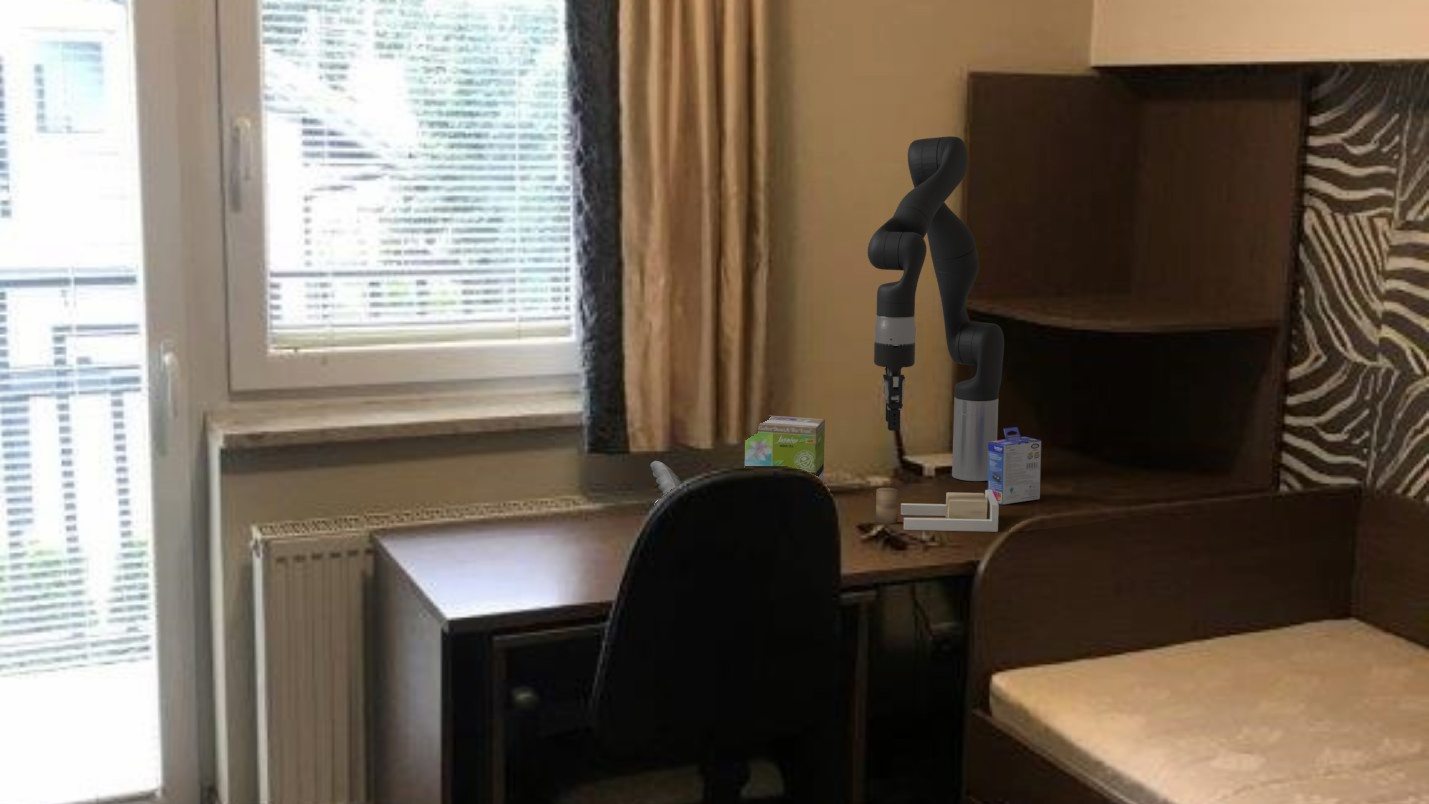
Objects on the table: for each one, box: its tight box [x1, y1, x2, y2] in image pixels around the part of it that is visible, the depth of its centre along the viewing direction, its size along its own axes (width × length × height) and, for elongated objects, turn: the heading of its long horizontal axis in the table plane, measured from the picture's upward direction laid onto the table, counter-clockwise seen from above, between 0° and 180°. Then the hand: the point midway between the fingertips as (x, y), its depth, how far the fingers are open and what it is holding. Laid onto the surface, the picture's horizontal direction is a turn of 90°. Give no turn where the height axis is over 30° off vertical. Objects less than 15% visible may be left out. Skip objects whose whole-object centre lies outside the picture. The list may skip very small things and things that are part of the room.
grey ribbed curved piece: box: [649, 460, 683, 504], centre depth 294 cm, size 9×18×10 cm, turn 25°
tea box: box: [744, 415, 826, 481], centre depth 316 cm, size 15×10×15 cm
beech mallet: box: [875, 487, 987, 525], centre depth 291 cm, size 7×20×6 cm, turn 86°
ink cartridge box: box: [987, 426, 1042, 505], centre depth 308 cm, size 10×6×14 cm, turn 120°
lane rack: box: [900, 489, 1000, 533], centre depth 291 cm, size 12×17×5 cm
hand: (892, 426), depth 288 cm, fingers open, 8 cm apart
